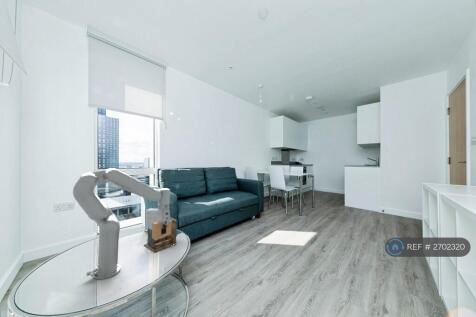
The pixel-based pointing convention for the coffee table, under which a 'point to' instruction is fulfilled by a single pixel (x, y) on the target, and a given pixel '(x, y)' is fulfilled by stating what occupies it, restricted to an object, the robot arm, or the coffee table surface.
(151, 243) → the book rack
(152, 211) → the hard drive box
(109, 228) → the robot arm
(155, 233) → the book
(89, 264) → the coffee table surface
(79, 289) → the coffee table surface
